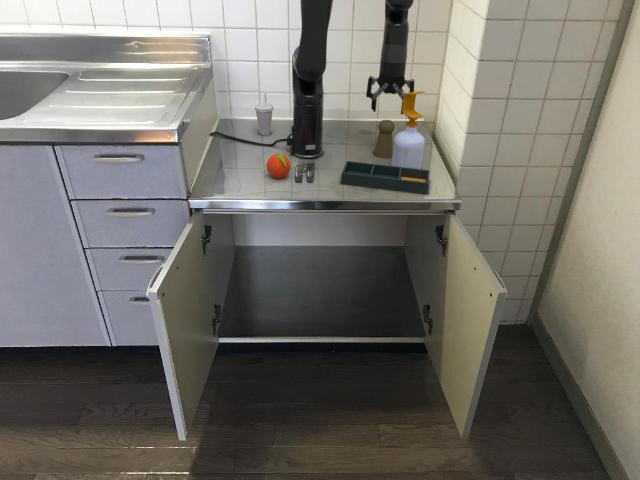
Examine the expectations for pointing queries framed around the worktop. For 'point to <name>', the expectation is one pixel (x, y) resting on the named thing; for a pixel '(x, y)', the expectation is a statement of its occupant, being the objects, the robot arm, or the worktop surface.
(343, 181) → the tray
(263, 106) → the smoothie
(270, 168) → the clementine
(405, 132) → the soap bottle
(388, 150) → the cork
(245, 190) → the worktop surface
